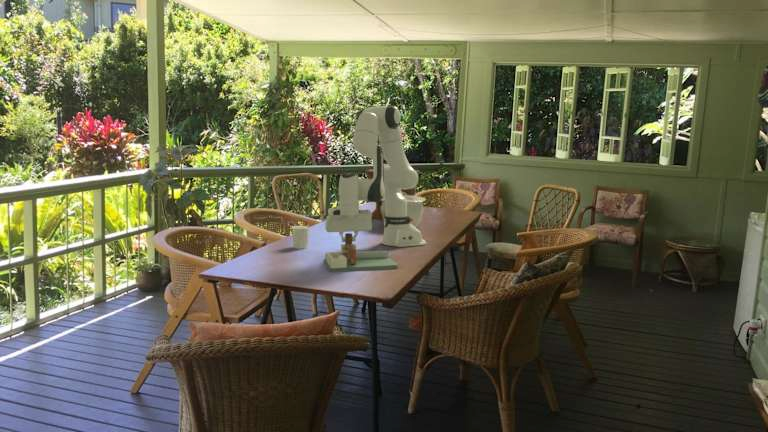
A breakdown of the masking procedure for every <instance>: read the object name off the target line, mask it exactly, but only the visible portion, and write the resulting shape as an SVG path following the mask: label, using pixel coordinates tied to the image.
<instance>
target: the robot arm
mask: <svg viewBox="0 0 768 432" xmlns="http://www.w3.org/2000/svg"><path fill="white" fill-rule="evenodd" d="M355 121H356V123H355V127H354V131H353V136H352V137H353V138H352V145H353V148H354V149H355V151H357V152H358V153H359V154H360V155H362V156H364V157H366V158H369V159H371V160H372V163H373V165H372V167H373V168H372V169H373V178H372V179H369V178H368V179H364V178H359V175H358V173H356V172H354V171H353V172H352V171H348V172H342V173H341V174H340V176H339V181H338V196H339V201H338V205H337V206H334V207H331V208H328V210H327V213H328V215H327V216H326V219H325V226H324V229H325V231H326V232H327V233H339V235H340V238H341V242H342V243H345V242H346V238H345V236H343V235H344V232H346V233H347V232H349V233H350V232H353V233H354V235H352V242H356V241H357V236H358V235H359V232H369V231H370V232H371V231H372V229H373V224H372V212H373V211H371V210H369V209H360V202H369V203H375V204H376V203H377V202H379V201H380V200H381V199H382V198H383V197H384V198H385V216H384V220H383V226H384V227H383V228H384V229H383V234H382V240H381V244H383V245H386V246H391V247H398V248H404V247H412V246H425V245H427V242H426V240H425V239H423V238H422V237H423V236H422V233H421V231H420V229H419V228H417V226H416V227H415V226H413V225H412V224H411V223H410V222H412V221H413V220H414V219H413V218H412V217H409V216H407V200H406V198H405V197H404V196H403V194H402V192H401V189H404V190H405V189H412V188H414V187H415V188H416V187H417V185H418V182H419V175H418V174H417V172H416V171H415V170H416V169H414V168H413V167H412V165H411V164H410V163H409V160H408V158H407V156H406V154H405V148H404V144H403V137H402V133H401V127H400V124H401V122H402V113H401V110H400V109H399V108H398V107H397V106H396V105H378V106H377V105H376V106H373V107H369V108H368V107H365V108H361V109H359V110H358V112H357V113H356V118H355ZM378 142H379V143H378ZM384 160H385V161H386V163H387V164H388V165H384V163H385V162H384ZM359 201H360V202H359Z"/></svg>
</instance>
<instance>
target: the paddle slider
mask: <svg viewBox="0 0 768 432" xmlns="http://www.w3.org/2000/svg"><path fill="white" fill-rule="evenodd" d="M344 237H345V238H346V242H344V244H341V245H340V252H342V253H349V262H350V263H351V264H356V252H357V245H356V244H355V243H353V241H352V237H353V233H350V232H349V233H347V232H346V233H345V234H344Z"/></svg>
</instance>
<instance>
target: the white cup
mask: <svg viewBox="0 0 768 432" xmlns="http://www.w3.org/2000/svg"><path fill="white" fill-rule="evenodd" d="M291 231H292V233H291V234H292V242H293V248H294V249H297V250H298V249H299V250H300V249H301V250H302V249H308V248H309V247H308V245H309V243H308V242H309V231H310V230H309V225H294V226H292V228H291Z"/></svg>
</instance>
